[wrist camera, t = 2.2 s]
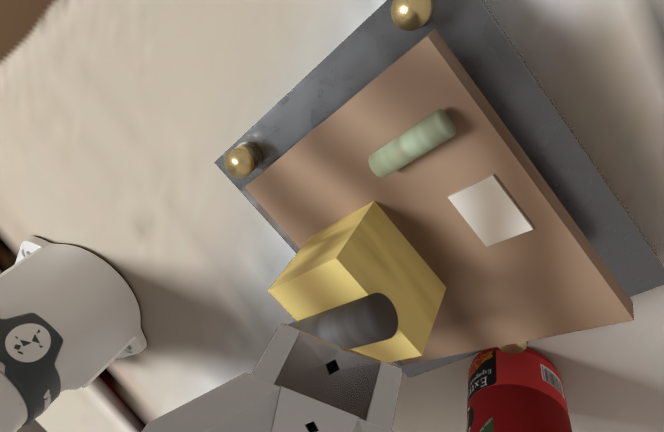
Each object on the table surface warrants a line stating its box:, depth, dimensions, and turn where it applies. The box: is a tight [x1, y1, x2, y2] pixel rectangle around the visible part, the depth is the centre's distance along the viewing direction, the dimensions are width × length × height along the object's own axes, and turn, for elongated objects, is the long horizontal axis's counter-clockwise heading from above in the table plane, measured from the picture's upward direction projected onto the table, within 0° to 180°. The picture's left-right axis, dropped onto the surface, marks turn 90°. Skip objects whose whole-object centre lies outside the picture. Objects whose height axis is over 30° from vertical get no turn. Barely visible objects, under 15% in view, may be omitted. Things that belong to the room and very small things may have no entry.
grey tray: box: [214, 0, 664, 378], centre depth 33 cm, size 22×26×5 cm
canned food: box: [467, 347, 572, 432], centre depth 36 cm, size 8×8×11 cm
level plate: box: [240, 29, 634, 366], centre depth 28 cm, size 19×20×10 cm
